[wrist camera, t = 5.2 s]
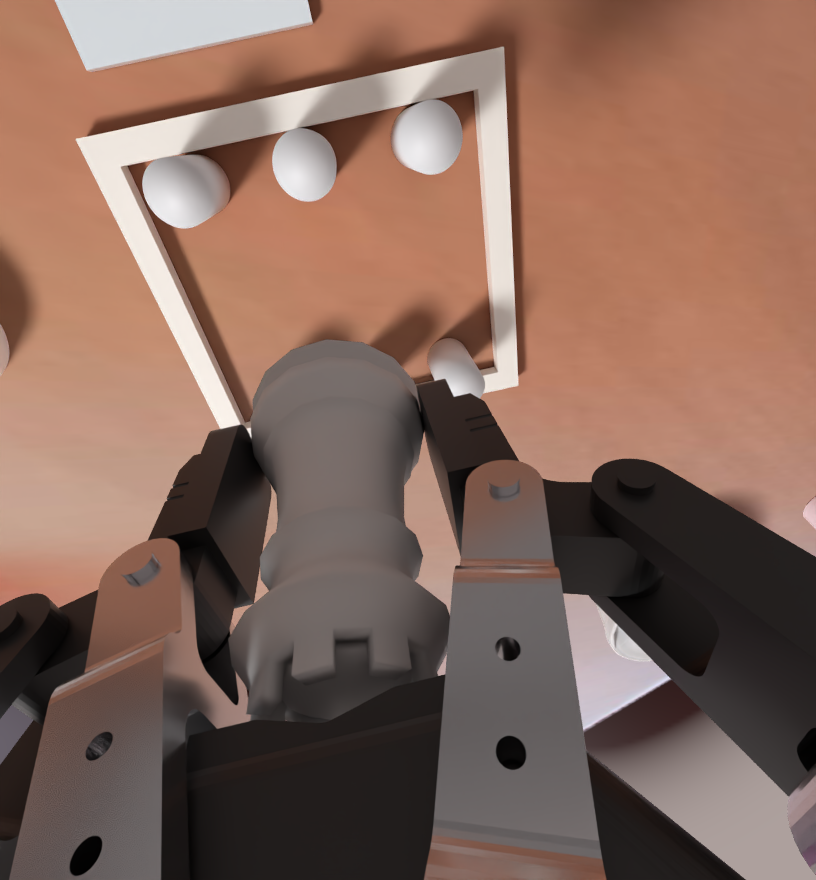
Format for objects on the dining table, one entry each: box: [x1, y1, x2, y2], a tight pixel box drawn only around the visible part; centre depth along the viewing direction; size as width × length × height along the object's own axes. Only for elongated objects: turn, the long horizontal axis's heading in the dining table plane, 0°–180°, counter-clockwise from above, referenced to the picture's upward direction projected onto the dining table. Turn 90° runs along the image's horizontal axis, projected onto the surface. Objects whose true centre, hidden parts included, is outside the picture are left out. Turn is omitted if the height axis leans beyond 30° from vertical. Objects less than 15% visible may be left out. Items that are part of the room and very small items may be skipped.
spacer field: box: [76, 47, 518, 439], centre depth 22 cm, size 18×16×4 cm
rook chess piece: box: [228, 339, 450, 723], centre depth 9 cm, size 4×4×8 cm
